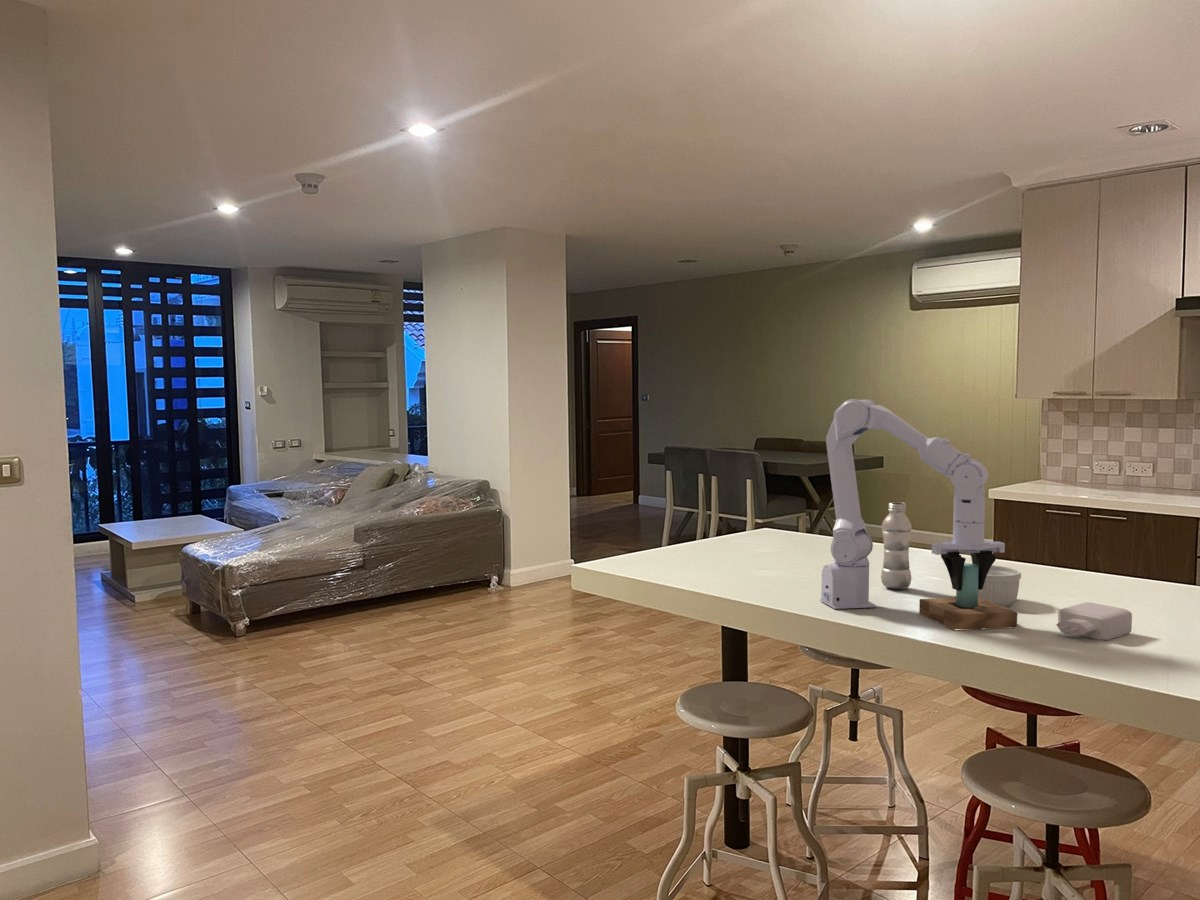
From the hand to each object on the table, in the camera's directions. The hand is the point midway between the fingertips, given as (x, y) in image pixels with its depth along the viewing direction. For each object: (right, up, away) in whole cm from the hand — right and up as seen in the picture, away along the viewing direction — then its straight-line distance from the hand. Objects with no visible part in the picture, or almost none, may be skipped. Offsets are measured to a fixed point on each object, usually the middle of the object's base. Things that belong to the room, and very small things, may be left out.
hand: (967, 589), depth 170 cm
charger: (+18, -7, -10) cm, 22 cm away
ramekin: (+12, -6, +17) cm, 22 cm away
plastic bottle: (-4, -5, +29) cm, 30 cm away
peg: (0, -3, 0) cm, 3 cm away
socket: (0, -6, 0) cm, 6 cm away
